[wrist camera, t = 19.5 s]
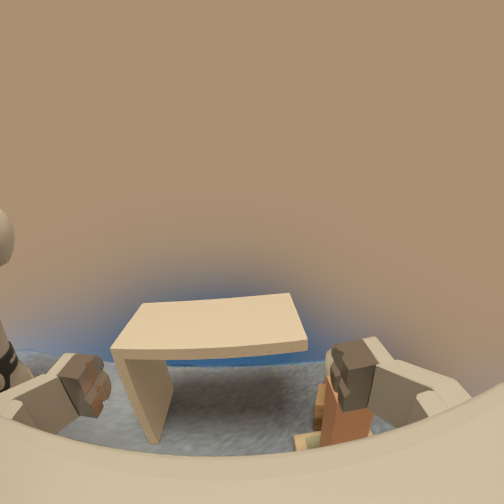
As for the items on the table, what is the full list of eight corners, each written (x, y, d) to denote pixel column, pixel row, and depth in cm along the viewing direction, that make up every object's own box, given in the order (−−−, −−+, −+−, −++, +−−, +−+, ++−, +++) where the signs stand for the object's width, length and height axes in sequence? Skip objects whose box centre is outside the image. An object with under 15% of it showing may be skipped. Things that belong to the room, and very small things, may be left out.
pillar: (359, 461, 28) (379, 393, 24) (326, 468, 28) (337, 402, 24) (350, 438, 32) (364, 368, 29) (319, 444, 32) (326, 375, 29)
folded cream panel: (304, 439, 35) (307, 339, 31) (149, 443, 35) (109, 348, 31) (291, 384, 49) (289, 292, 45) (166, 390, 49) (142, 303, 44)
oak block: (312, 430, 37) (315, 404, 36) (317, 409, 42) (319, 383, 40) (345, 432, 36) (350, 406, 34) (347, 410, 40) (351, 384, 39)
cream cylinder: (318, 399, 44) (321, 358, 42) (329, 384, 47) (332, 344, 45) (341, 406, 41) (347, 365, 39) (351, 390, 45) (357, 350, 42)
